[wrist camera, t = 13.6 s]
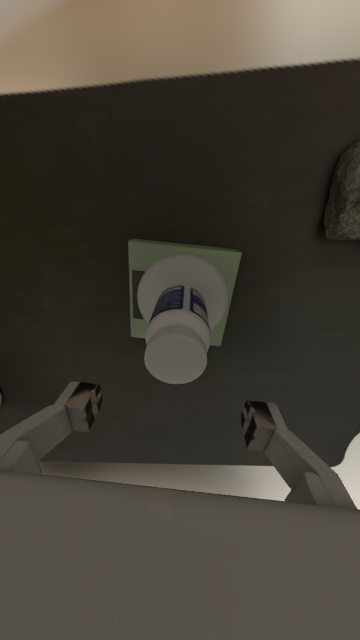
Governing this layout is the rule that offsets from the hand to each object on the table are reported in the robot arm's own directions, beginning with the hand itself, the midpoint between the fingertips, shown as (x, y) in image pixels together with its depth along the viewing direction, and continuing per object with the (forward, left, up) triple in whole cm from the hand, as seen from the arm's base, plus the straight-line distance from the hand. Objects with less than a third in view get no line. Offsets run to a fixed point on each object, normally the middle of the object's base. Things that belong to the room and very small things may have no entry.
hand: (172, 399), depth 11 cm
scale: (0, 0, -17) cm, 17 cm away
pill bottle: (0, 0, -14) cm, 14 cm away
